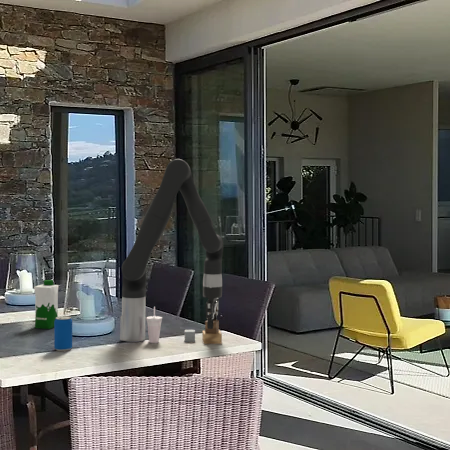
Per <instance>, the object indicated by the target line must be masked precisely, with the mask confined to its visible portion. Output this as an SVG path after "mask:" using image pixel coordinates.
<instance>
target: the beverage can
mask: <svg viewBox="0 0 450 450" xmlns="http://www.w3.org/2000/svg"><path fill="white" fill-rule="evenodd" d="M53 329H54V332H53V333H54V334H53V336H54V337H53V338H54V339H53V340H54V346H53V347H54V350H56V351H57V352H69V351H71V349H72V348H73V320H72V317H71V316H70V315H69V316H67V315H66V316H64V315H61V316H58V317H56V319H55V321H54V328H53Z"/></svg>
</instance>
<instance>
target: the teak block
mask: <svg viewBox="0 0 450 450" xmlns="http://www.w3.org/2000/svg"><path fill="white" fill-rule="evenodd" d="M201 337H202V343H203V344H204V345H205V344H206V345H208V344H209V345H210V344H211V345H213V344H215V345H217V344H221V345H222V343H223V342H222V341H223V339H222V337H223V335H222V332H221V330H220V329H219V332H218V333H217V334H213V333H205V330H202V335H201Z"/></svg>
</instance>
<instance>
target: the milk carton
mask: <svg viewBox="0 0 450 450" xmlns="http://www.w3.org/2000/svg"><path fill="white" fill-rule="evenodd" d="M33 288H34V295H35V301H34V302H35V303H34V304H35V308H34V310H35V317H34V318H35V320H34V323H35V324H34V329H42V330H44V329H45V330H47V329H48V330H52V329H54V321H55V319H56V317H59V316H58V315H59V314H58V311H59V307H58V295H59V284H54V280H53V279H45V280H43V284H38V285H36V286H34V287H33Z"/></svg>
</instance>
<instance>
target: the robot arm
mask: <svg viewBox="0 0 450 450" xmlns="http://www.w3.org/2000/svg"><path fill="white" fill-rule="evenodd" d="M179 192H180V193H181V196H182V198H183V201H184V202H185V205H186V208H187V212H188V214H189V216H190V218H191V221H192V223H193V225H194V226H195V229H196V231H197V234H198V237H199V240H200V244H201V245H202V247H203V249H204V251H205V259H204V261H203V262H204V263H203V278H202V297H203V298H207V301H206V303H205V318H206V319H207V320H206V321H207V328H208V329H213V320H218V317H217V316H218V314H219V298H222V296H223V276H222V272H223V271H222V265H223V264H222V260H223V252H224V240H223V238H222V237H221V236H220V234H217V233H216V231H215V228H214V223H213V220H212V217H211V216H210V214H209V212H208V209H207V207H206V205H205V203H204V201H203V199H202V198H201V196H200V193H199V192H198V189H197V186H196V184H195V181H194V178H193V175H192V170H191V167H190V165H189V164H188V162H187V161H185V160H183V159H180V158H175V159H173V160H171V161H170V162H168V164H167V165H166V168H165V171H164V174H163V177H162V179H161V183H160V185H159V187H158V189H157V192H156V194H155V195H154V198H153V199H152V201H151V203H150V205H149V207H148V209H147V211H145V212H146V213H145V215H144V217H143V219H142V222H141V225H140V227H139V230H138V233H137V236H136V239H135V242H134V245H133V246H132V248H131V250H130V252H129V253H128V255H127V256H126V258H125V260H124V261H123V263H122V264H121V273H122V288H121V297H122V298H121V316H119V319H120V320H119V333H120V334H119V341H123V342H127V343H130V342H131V343H132V342H133V343H135V342H143V341H145V340H146V292H147V291H146V290H147V289H146V288H147V266H148V265H147V264H148V263H149V258H150V256H151V253H152V252H153V249H154V248H155V246H156V245H157V243H158V242H159V240H160V238H161V237H162V235H163V233H164V231H165V229H166V227H167V225H168V223H169V220H170V219H171V215H172V212H173V209H174V208H173V207H174V203H175V199H176V197H177V194H178V193H179Z"/></svg>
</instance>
